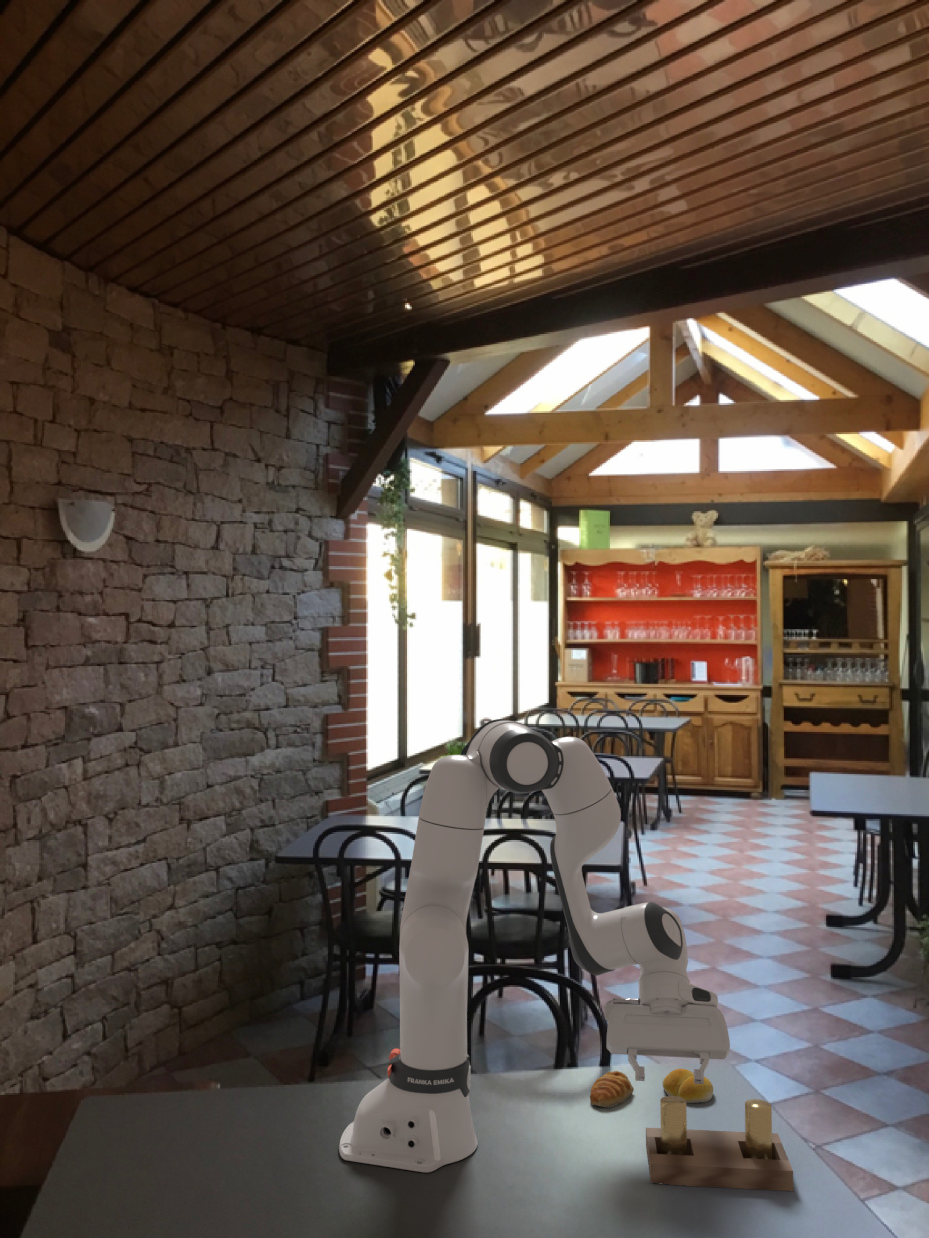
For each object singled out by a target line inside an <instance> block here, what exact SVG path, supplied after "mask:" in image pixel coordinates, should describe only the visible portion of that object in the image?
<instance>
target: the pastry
mask: <svg viewBox="0 0 929 1238" xmlns="http://www.w3.org/2000/svg"><path fill="white" fill-rule="evenodd" d="M631 1083H632V1082H631V1081H630V1080H629V1078H628V1076H627V1075H626V1074H625V1073H623V1072H621V1071H618V1070H614V1071H607V1072H606V1073H604V1074H603V1076H600V1077H599V1078H597V1079H596V1080H595V1082H593V1084H592V1086H591V1089H590V1095H589V1101H590V1103H591V1105H592V1106H594V1105H595V1106H598V1107H604V1108H611V1107H614V1106H617V1105H621V1104H623V1103H624V1102H625V1101H626V1100H628V1099H629V1098H630V1097H631V1096H632V1094H633V1093H634V1090H635V1089H634V1086H633V1085H632V1084H631ZM630 1095H631V1096H630ZM629 1096H630V1097H629ZM628 1097H629V1098H628ZM624 1100H625V1101H624ZM623 1101H624V1102H623ZM620 1103H621V1104H620ZM616 1104H617V1105H616ZM613 1105H614V1106H613Z"/></svg>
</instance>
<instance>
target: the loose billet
mask: <svg viewBox="0 0 929 1238" xmlns="http://www.w3.org/2000/svg"><path fill="white" fill-rule="evenodd" d="M687 1122H688V1121H687V1103H686V1100H685V1099H683V1098H681V1097H678V1096H669V1095H666V1096H665V1095H664V1096H663V1097H661V1098H660V1128H661V1154H668V1155H687V1129H688V1128H687V1127H688V1125H687Z"/></svg>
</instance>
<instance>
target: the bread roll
mask: <svg viewBox="0 0 929 1238" xmlns="http://www.w3.org/2000/svg"><path fill="white" fill-rule="evenodd" d="M693 1074H694V1072H693V1071H690V1070H689V1069H686V1068H677V1069H674V1070H672V1071H670V1072H669V1073H668V1074H666V1076H665V1077H664V1078H663V1079H662V1087H663V1090H664V1092H665V1093H666V1095H667V1096H678V1097H681V1098H683V1099H685V1100H686V1104H700V1103H699V1102H701V1103H706V1102H708V1101H710V1100H711V1099H712V1098H713V1095H714V1086H713V1084H712V1082H711V1081H710V1079H709V1078H708V1077H706V1076H704V1084H694V1075H693Z"/></svg>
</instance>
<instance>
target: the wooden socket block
mask: <svg viewBox="0 0 929 1238" xmlns="http://www.w3.org/2000/svg"><path fill="white" fill-rule="evenodd" d="M645 1149H646V1150H645V1151H646V1157H647V1164H648V1165H649V1166H648V1171H649V1172H648V1173H649V1181H650V1180H651V1181H650V1184H651V1183H658V1184H657V1185H660V1184H659V1183H662V1184H661V1185H663V1184H669V1185H668V1186H682V1185H686V1186H687V1187H701V1188H703V1187H705V1188H722V1189H723V1188H725V1189H742V1190H762V1191H763V1190H764V1191H765V1190H766V1191H778V1192H779V1191H784V1192H794V1170H793V1167H792V1165H791V1163H790V1160H789V1157H788V1155H787V1153H786V1150H785V1148H784V1145H783V1143H782V1140H781V1137H780V1135H779V1133H773V1132H772V1160H771V1159H750V1158H746V1150H745V1131H731V1130H730V1131H729V1130H728V1131H727V1130H708V1129H707V1130H705V1129H689V1128H687V1155H668V1154H661V1127H645Z"/></svg>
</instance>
